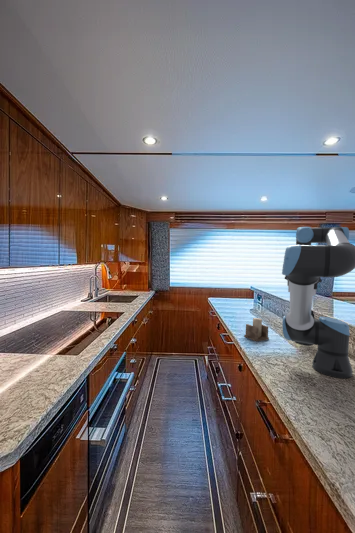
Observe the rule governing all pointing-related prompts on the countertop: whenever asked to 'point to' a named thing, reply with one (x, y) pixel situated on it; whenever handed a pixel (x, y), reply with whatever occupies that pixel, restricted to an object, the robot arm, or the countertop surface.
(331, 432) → the countertop surface
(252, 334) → the holder
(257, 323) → the beige rectangular block
